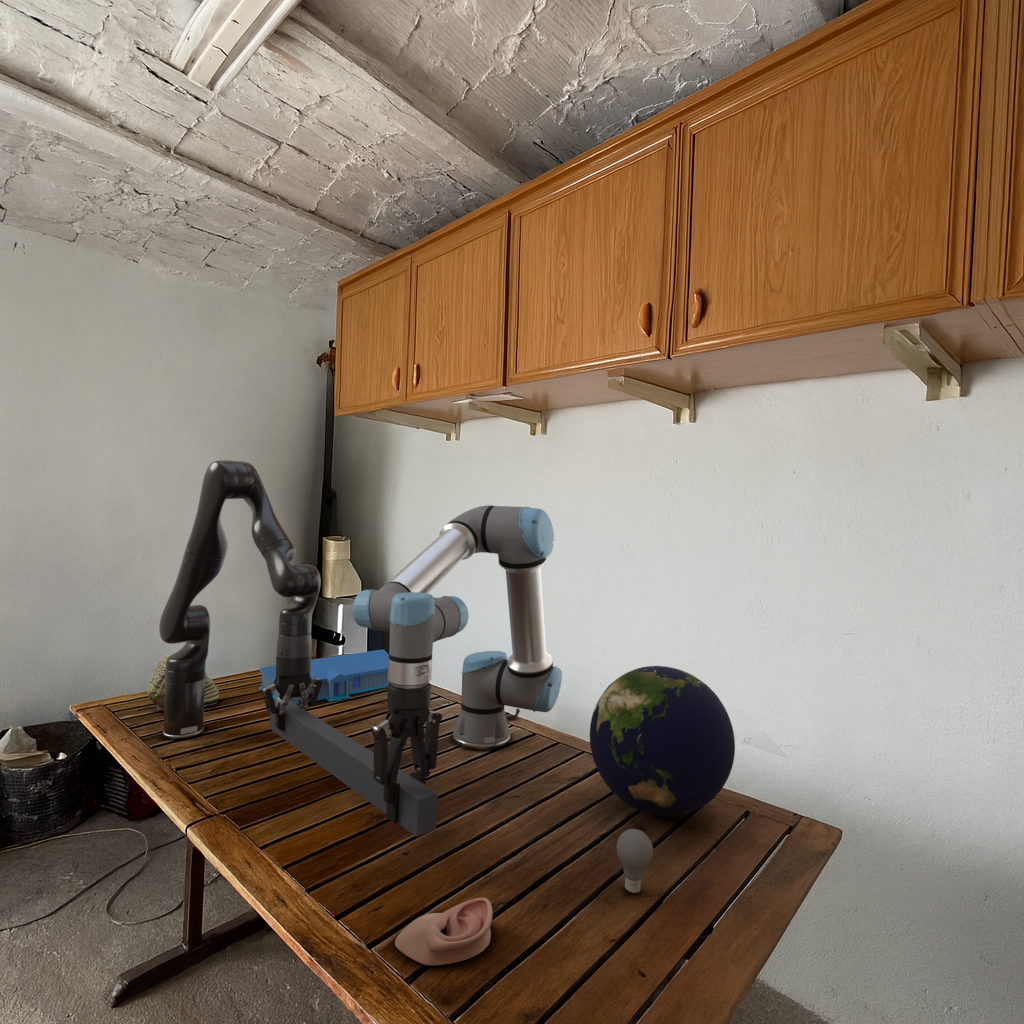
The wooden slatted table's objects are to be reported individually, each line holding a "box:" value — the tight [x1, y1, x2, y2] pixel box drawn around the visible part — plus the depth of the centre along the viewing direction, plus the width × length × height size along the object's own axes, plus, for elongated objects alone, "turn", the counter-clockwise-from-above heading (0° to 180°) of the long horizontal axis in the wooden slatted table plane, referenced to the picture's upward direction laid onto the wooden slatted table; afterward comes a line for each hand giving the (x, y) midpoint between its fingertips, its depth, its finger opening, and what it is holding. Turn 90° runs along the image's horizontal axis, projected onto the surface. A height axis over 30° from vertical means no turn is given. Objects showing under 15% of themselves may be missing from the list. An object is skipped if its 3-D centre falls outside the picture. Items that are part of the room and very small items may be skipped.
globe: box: [589, 665, 736, 817], centre depth 135 cm, size 30×30×30 cm
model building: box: [258, 649, 390, 705], centre depth 208 cm, size 39×24×10 cm, turn 132°
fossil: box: [147, 654, 221, 712], centre depth 185 cm, size 9×18×15 cm, turn 132°
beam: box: [269, 700, 439, 838], centre depth 127 cm, size 60×4×6 cm, turn 43°
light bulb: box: [615, 828, 654, 894], centre depth 106 cm, size 6×6×10 cm
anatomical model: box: [394, 897, 493, 967], centre depth 92 cm, size 13×4×12 cm
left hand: (290, 727), depth 144 cm, fingers closed on beam, 4 cm apart
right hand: (403, 815), depth 111 cm, fingers closed on beam, 4 cm apart
